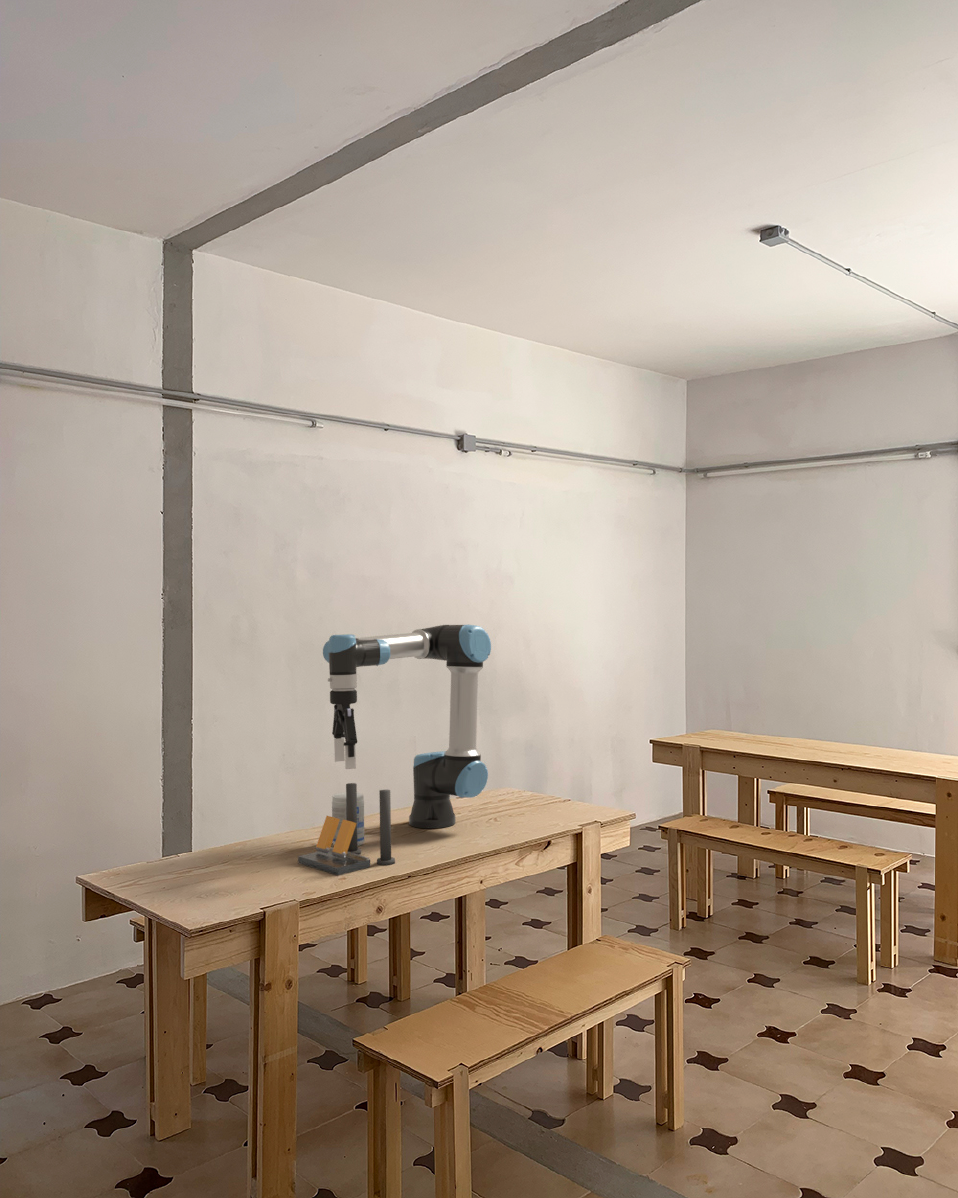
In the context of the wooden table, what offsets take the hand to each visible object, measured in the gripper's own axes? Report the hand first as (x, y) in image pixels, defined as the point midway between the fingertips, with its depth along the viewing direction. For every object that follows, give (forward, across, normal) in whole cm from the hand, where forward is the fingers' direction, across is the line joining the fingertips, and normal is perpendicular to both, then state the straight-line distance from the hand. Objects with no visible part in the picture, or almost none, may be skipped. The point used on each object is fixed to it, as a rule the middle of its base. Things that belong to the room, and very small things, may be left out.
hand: (345, 765), depth 272 cm
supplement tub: (+27, -17, +4) cm, 32 cm away
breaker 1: (+24, +6, -4) cm, 26 cm away
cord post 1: (+27, -6, +3) cm, 27 cm away
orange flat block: (+24, -1, -7) cm, 26 cm away
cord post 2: (+27, +8, +9) cm, 29 cm away
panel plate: (+26, +5, -5) cm, 27 cm away
